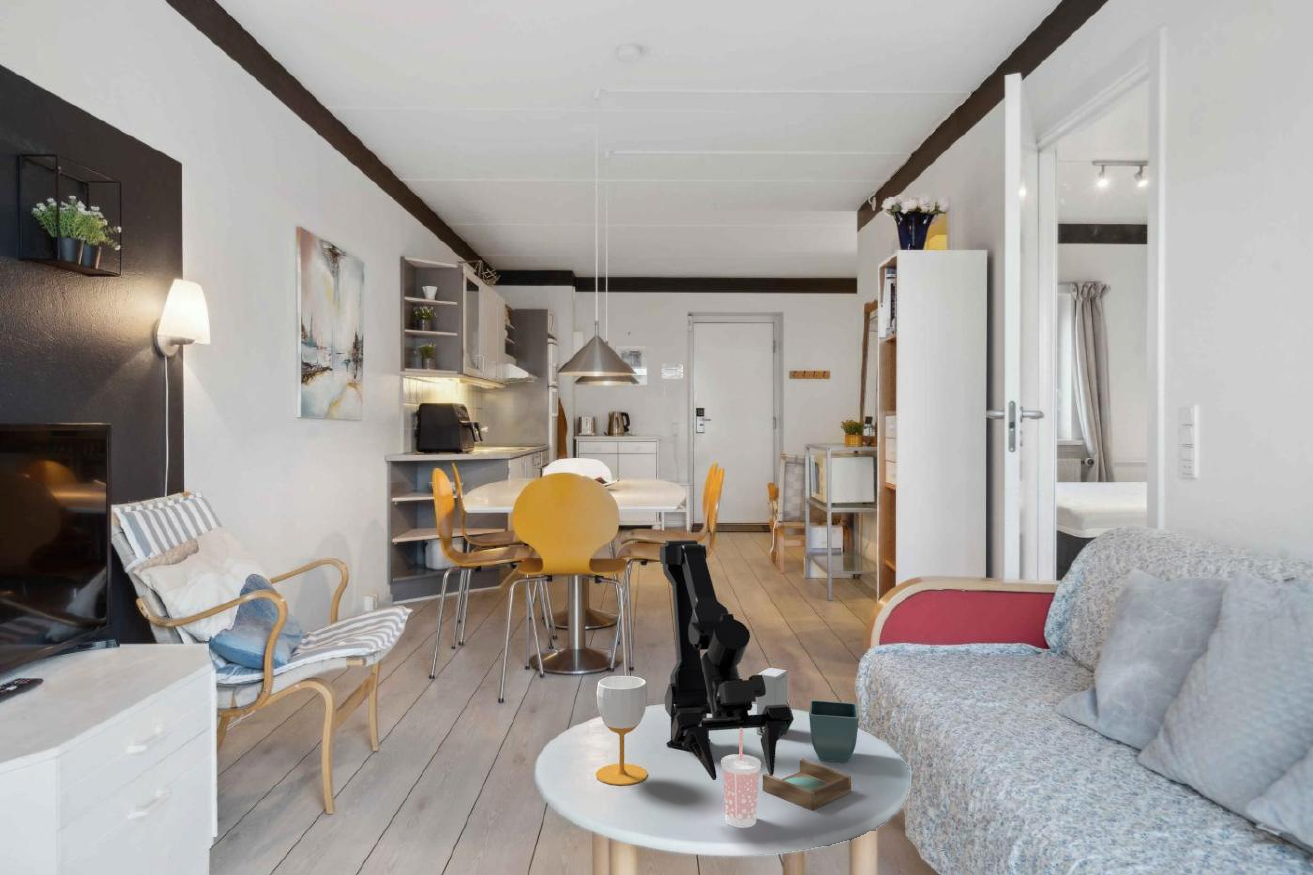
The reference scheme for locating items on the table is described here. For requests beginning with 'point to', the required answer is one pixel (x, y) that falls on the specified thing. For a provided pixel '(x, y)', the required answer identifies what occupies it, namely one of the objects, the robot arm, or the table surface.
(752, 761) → the beverage cup
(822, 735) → the flower pot
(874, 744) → the table surface
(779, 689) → the skincare box
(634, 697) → the cup
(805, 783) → the wooden tray
